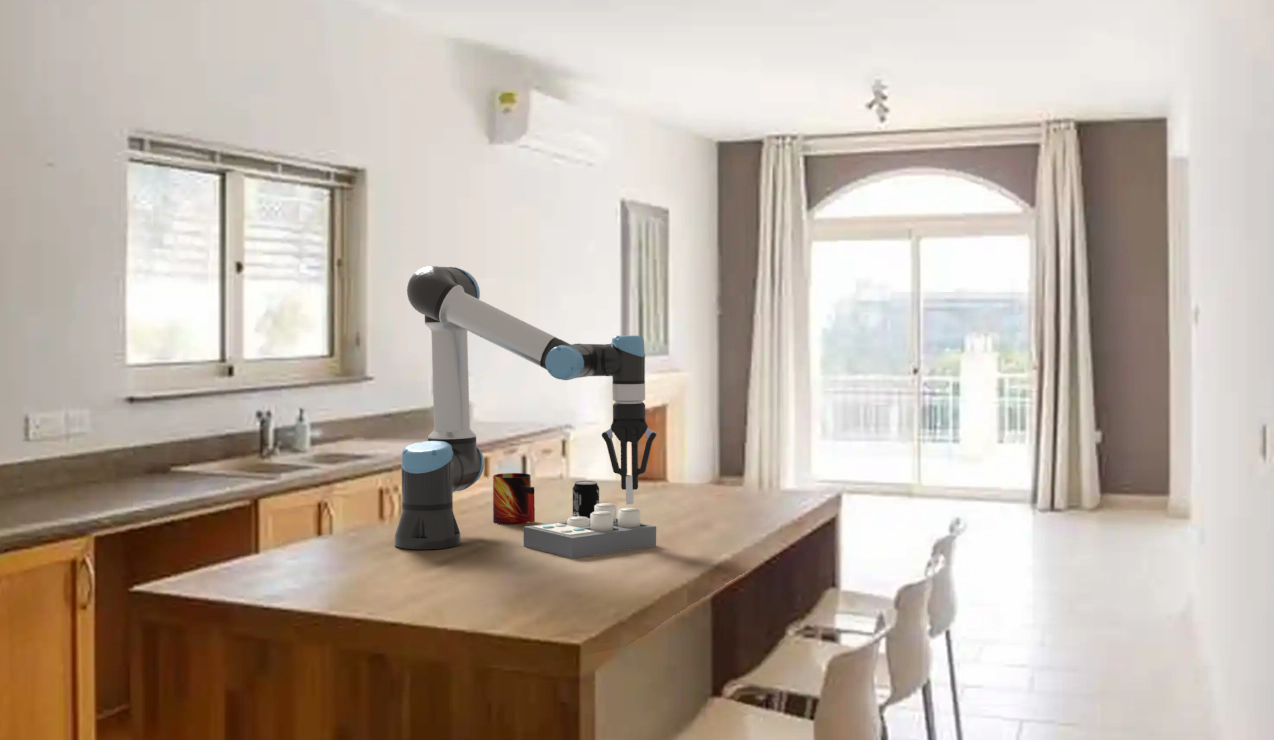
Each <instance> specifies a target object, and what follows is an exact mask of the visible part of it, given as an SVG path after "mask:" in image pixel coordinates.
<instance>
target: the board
mask: <svg viewBox="0 0 1274 740" xmlns="http://www.w3.org/2000/svg"><path fill="white" fill-rule="evenodd" d="M656 546H657V526H656V525H651V524H647V523H641V522H640V527H635V528H628V529H627V528H622V527H618V517H616V522H613V531H606V532H595V531H591V530H590V518H589V525H588V526H581V527H573V526H569V525H567V520H566V521H564V520H563V521H557V522H551V523H549V522H548V523H540V524H534V525H526V526H523V547H525V548H530V549H533V550H538V551H540V552H541V551H542V552H544V553H546V552H547V553H550V554H553V555H558V556H561V557H565V558H569V559H578V558H585V557H590V556H591V557H592V556H598V555H605V554H611V553H616V552H623V551H629V550H637V549H645V548H649V547H656Z"/></svg>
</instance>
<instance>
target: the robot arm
mask: <svg viewBox="0 0 1274 740" xmlns="http://www.w3.org/2000/svg"><path fill="white" fill-rule="evenodd" d="M406 287H407V288H406V294H407V299H408V302H409V303H410V305H411V306H412V307H413V309H414V310H415V311H416V312H418V313H420V314H421V315H424V325H426V326H427V327H428V329H429V330H430V331H431V358H432V359H431V361H432V362H431V363H432V364H431V365H432V370H431V371H432V399H433V403H432V404H433V407H432V408H433V430H432V431H431V432H430V433H429V434H428V436H427V440H426V441H421V442H415V443H411V444H409V445H407V446H405V447H404V448H403V449H402V452H401V461H400V467H401V515H400V518H399V520H398V524H397V528H396V530H395V533H394V546H395V547H397V548H400V549H401V548H402V549H406V550H422V551H423V550H438V549H440V550H441V549H447V548H451V547H455V546H458V545H461V531H460V528H459V526H458V523H457V520H456V517H455V514H454V507H453V494H454V493H455V492H461V491H464V490H466V489H468V488H470V487H471V486H472V485H474V484H476V483H477V482H478V480H480V478H481V476H482V474H483V472H484V467H485V458H484V454H483V453H482V452H483V451H482V450H481V449H480V448H479V447H478V445H477V434H476V433H475V432H474V431H472V429H471V428H470V426H471V425H470V421H471V420H470V390H469V388H470V386H469V385H470V383H469V355H468V354H469V353H468V352H469V351H468V349H469V348H468V332H470V333H472V334H474V335H476V336H477V337H480V338H482V339H484V340H486V341H488V342H489V343H492V344H493V345H496V346H498V347H500V348H502V349H504V350H506V351H508V352H510V353H512V354H515V355H516V356H518V357H521V358H522V359H525V360H527V361H528V362H531V363H532V364H535V365H537V366H538V367H541V368H542V369H544V370H547V373H549V375H550V376H552V377H553V378H555V379H557V380H562V381H571V380H573V379H580V378H586V377H612V401H613V402H614V403H613V404H612V422H611V424H610V428H608V429H607V430H606V431H604V432H603V431H602V433H601V437H602V439H603V440H604V442H605V444H606V449H607V451H608V456H609V461H610V464H611V467H612V471H613V473H614V474H617V475H620V485H621V489H622V491H623V490H624V491H625V501H626V502H625V505H627V506H628V505H634V503H635V502H634V501H635V498H634V494H635V492H634V490H638V488H639V475H642V474H644V473H645V472H646V471H647V467H648V462H649V458H650V455H651V450H652V446H653V442H654V441H655V439H656V437H657V435H658V433H657V431H653V430H652V429H650V428H648V426H649V425H648V423H647V422H646V404H645V403H644V401H645V400H646V379H645V377H646V353H645V351H646V349H645V339H644V337H643V336H642V335H635V334H633V335H613V337H612V338H611V339H612V340H611V343H605V344H604V343H601V344H598V343H568V342H567V341H565V340H563V339H560V338H558V337H556V336H555V335H552V334H550V333H548V332H546V331H544V330H542V329H541V328H538V327H536V326H534V325H532V324H530V323H528V322H525V321H524V320H522V319H520V318H518V317H515V316H514V315H512V314H510V313H507V312H505V311H503V310H501V309H499V308H497V307H495V306H493V305H492V304H489V303H487V302H484V301H483V300H481V299H480V297H481V291H480V287H479V283H478V282H477V280H476V278H475V277H474V276H473V275H472V274H471V273H469V271H466V270H464V269H461V268H458V267H452V266H437V265H436V266H435V265H429V266H425V267H421V268H420V269H417V270H416V271H415V272H414V273H413V274H412V276H411V277H410V278H409V280H408V282H407V286H406ZM645 433H646V434H645ZM613 434H614V435H613ZM644 434H645V438H646V439H647V440H646V441H645V447H644V451H643V455H642V459H641V464H640V467H639V441H640V440H641V439H642V437H643V436H644ZM614 436H615V437H616V439H618V441H619V442H620V465H619V462H618V458H617V454H616V450H615V449H616V448H615V446H614V442H613V438H614ZM628 442H629V443H631V474H628Z"/></svg>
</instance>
